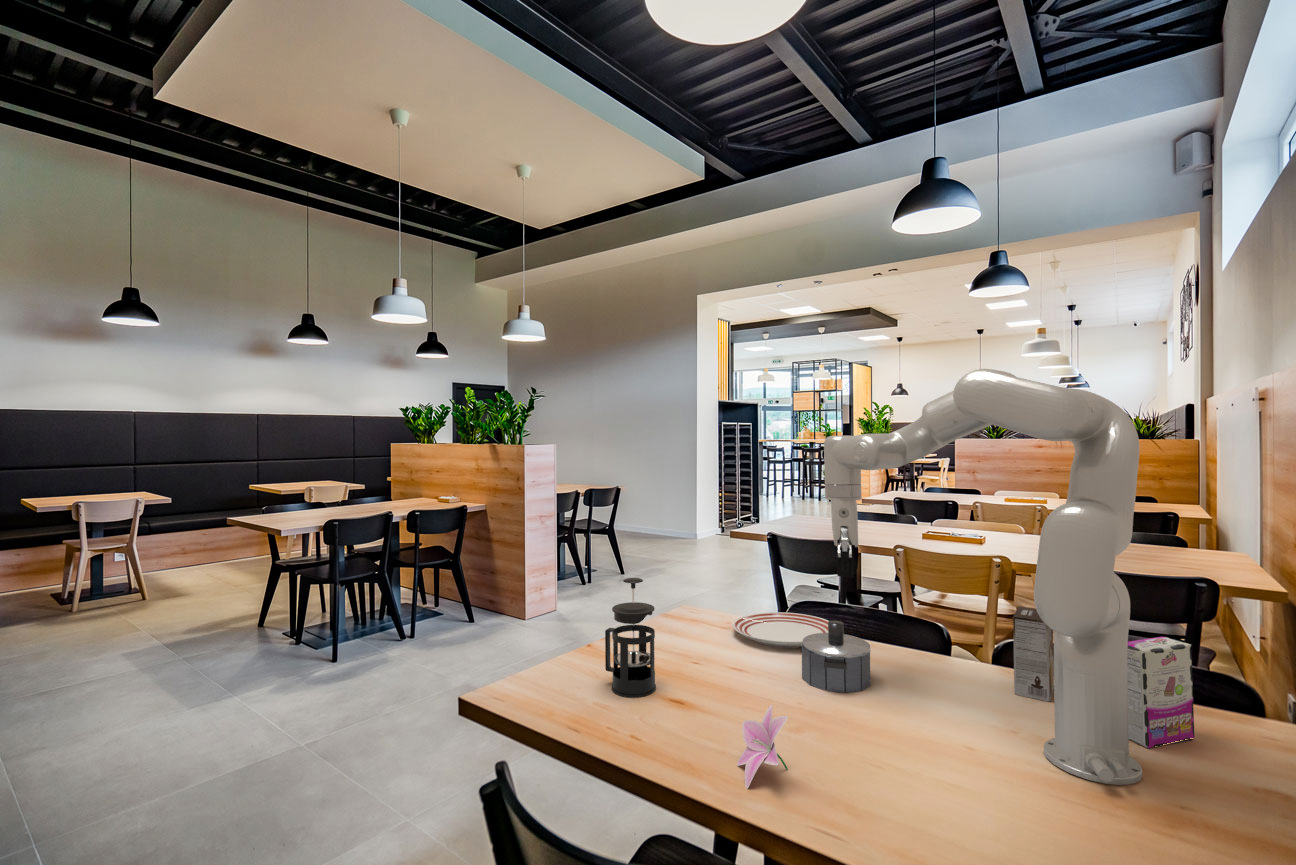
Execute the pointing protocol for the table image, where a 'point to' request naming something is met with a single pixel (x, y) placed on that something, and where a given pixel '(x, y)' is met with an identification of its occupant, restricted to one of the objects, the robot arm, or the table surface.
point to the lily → (760, 743)
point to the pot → (836, 672)
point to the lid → (836, 643)
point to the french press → (631, 661)
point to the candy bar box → (1159, 691)
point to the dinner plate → (780, 628)
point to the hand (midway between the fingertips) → (844, 571)
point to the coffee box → (1032, 655)
